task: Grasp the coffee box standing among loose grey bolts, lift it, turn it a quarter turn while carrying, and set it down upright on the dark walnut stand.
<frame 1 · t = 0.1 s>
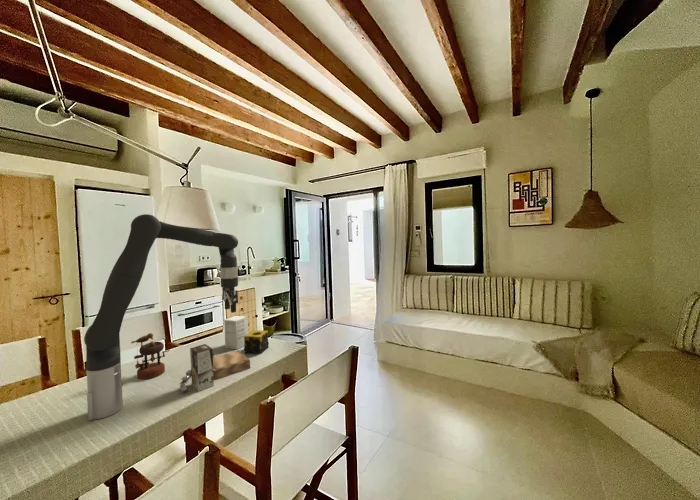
hand: (230, 310, 127), 29 cm above the table, fingers open, 8 cm apart
bolt a: (187, 379, 121), on the table
music box: (153, 373, 127), on the table
supplement box: (237, 346, 159), on the table
coffee box: (202, 385, 116), on the table
stand: (227, 367, 131), on the table
yellow black tissue box: (256, 350, 152), on the table
bolt b: (183, 389, 112), on the table
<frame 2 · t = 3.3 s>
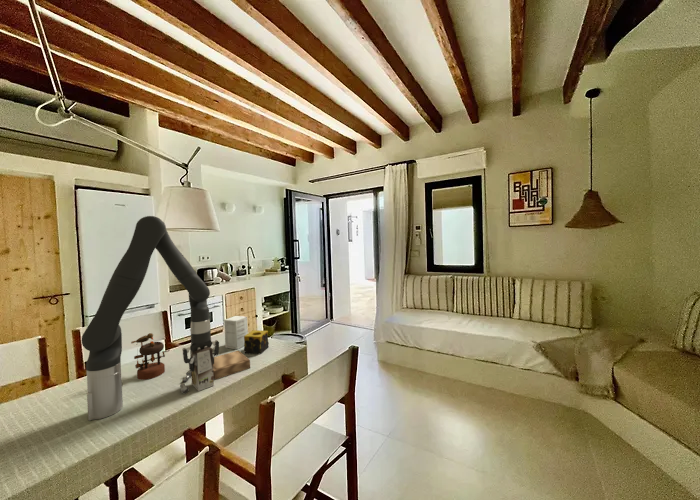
hand: (202, 368, 115), 7 cm above the table, fingers closed on coffee box, 6 cm apart
coffee box: (202, 385, 116), on the table, touching gripper
everything else where it was.
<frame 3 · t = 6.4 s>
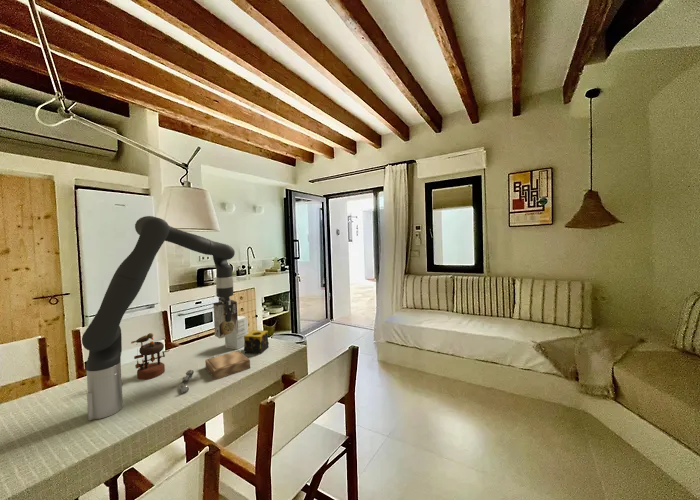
hand: (225, 320, 130), 24 cm above the table, fingers closed on coffee box, 6 cm apart
coffee box: (226, 335, 130), point 16 cm above the table, touching gripper
everything else where it was.
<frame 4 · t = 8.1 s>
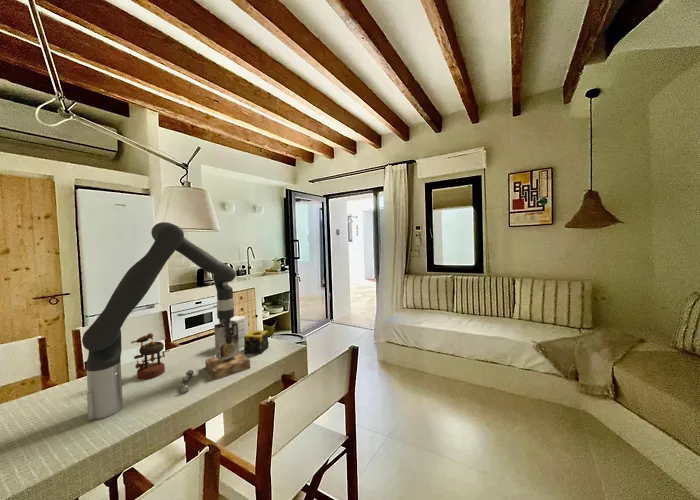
hand: (226, 341, 130), 13 cm above the table, fingers closed on coffee box, 6 cm apart
coffee box: (227, 356, 131), point 6 cm above the table, touching gripper
everything else where it was.
when the fingers open (12 cm above the table, at t = 9.4 s): coffee box stays where it is, resting on stand.
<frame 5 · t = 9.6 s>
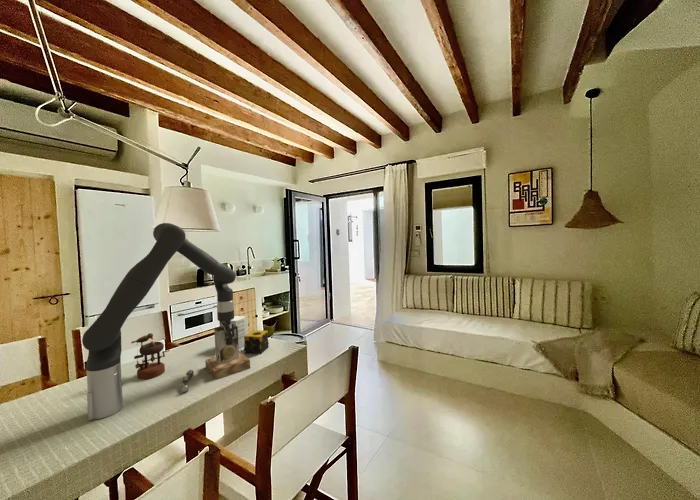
hand: (226, 342, 131), 13 cm above the table, fingers open, 8 cm apart
coffee box: (227, 359, 131), point 4 cm above the table, touching stand
everything else where it was.
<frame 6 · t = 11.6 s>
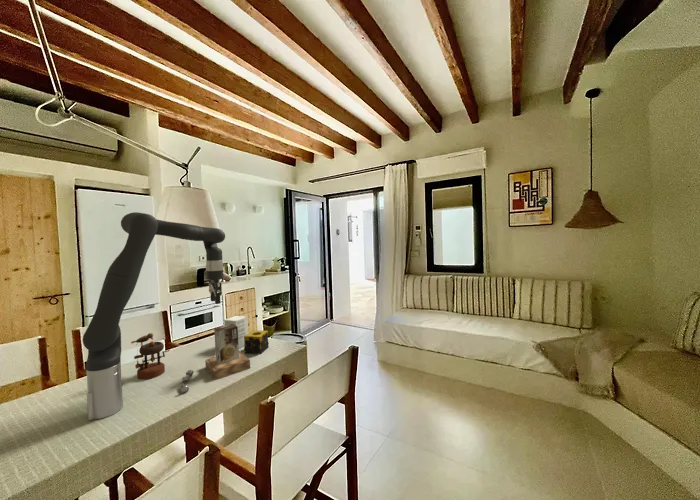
hand: (215, 302, 131), 32 cm above the table, fingers open, 8 cm apart
nothing on the table moved.
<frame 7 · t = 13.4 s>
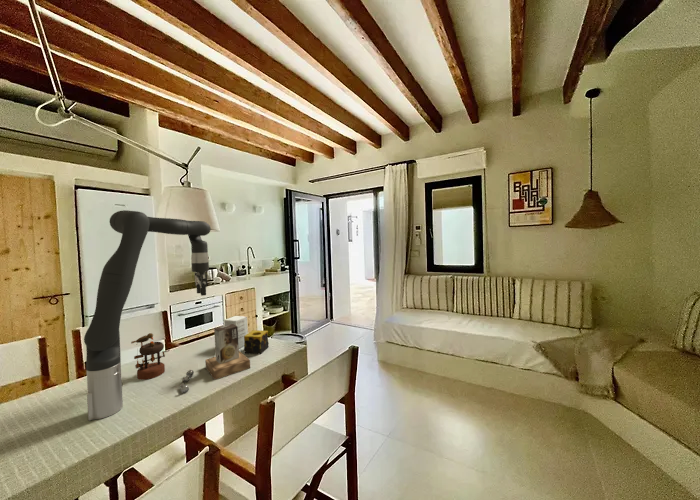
hand: (201, 294, 133), 36 cm above the table, fingers open, 8 cm apart
nothing on the table moved.
at the end: coffee box inside the target area on the stand (0.1 cm from its centre), point 4.0 cm above the stand's base; coffee box tilted 0°; the gripper is holding nothing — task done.
